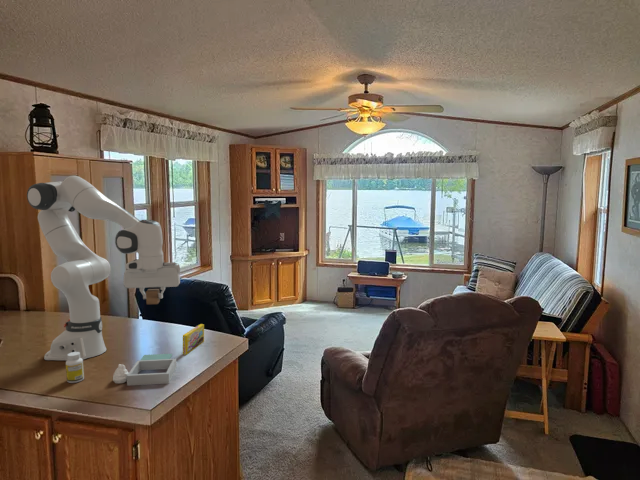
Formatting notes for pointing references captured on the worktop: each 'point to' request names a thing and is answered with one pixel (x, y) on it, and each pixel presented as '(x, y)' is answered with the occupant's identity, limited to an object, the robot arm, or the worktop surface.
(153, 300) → the walnut block
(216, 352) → the worktop surface
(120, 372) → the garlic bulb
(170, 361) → the grey bin
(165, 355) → the teal tile
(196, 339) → the candy box
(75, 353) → the supplement bottle
